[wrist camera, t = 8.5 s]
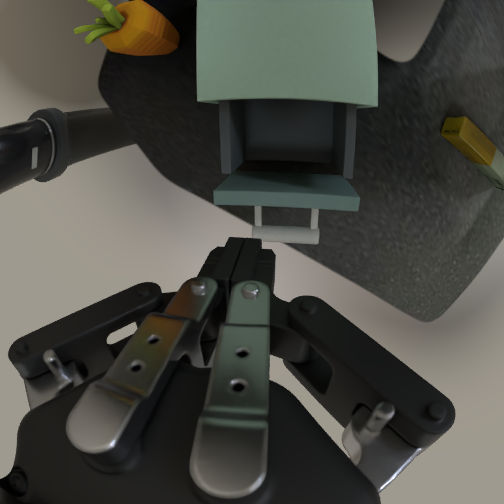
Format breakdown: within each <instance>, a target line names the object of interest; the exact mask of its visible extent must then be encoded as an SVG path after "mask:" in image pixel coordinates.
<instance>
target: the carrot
mask: <svg viewBox="0 0 504 504" xmlns="http://www.w3.org/2000/svg"><path fill="white" fill-rule="evenodd" d="M87 1H88V2H89V3H91V4H92V5H93V6H95V7H97V8H98V9H100V10H101V11H102V12H103V15H104V17H105V18H100V17H97V18H96V20H95V22H96V23H102V24H94V25H85V26H81V27H78V28H75V29H74V33H75V34H79V33H82V32H85V31H91V30H94V31H93V32H91V33H90V34H89V35H88V36H87V37H86V39H85V42H86V43H88V44H90V43H92V42H93V41H95V40H96V39H98V38H100V39H101V40H102V42H103V43H104V44H105V45H106V47H107V48H108V49H109V50H110V51H112V52H118V53H123V54H130V55H137V56H141V55H165V54H169V53H171V52H173V51H174V50H175V49H176V48H178V45H179V40H180V37H179V33H178V32H177V30H176V29H175V27H174V26H173V25H172V24H171V23H170V22H169V21H168V20H167V19H166V18H165V17H164V16H163V15H162V14H161V13H160V12H159V11H157V10H156V9H155V8H153V7H152V6H150V5H149V4H147V3H145V2H144V1H141V0H135V1H130V2H125V3H121V4H118V5H117V6H116V7H114V6H113V5H112V4H110V3H109V2H108V1H107V0H87Z"/></svg>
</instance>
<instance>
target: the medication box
mask: <svg viewBox="0 0 504 504" xmlns="http://www.w3.org/2000/svg"><path fill="white" fill-rule="evenodd" d="M441 136H443V137H444V138H445V139H446V140H447V141H449V142H450V143H451V144H452V145H453V146H454V147H456V148H457V149H458V150H459V151H460V152H461V153H462V154H463V155H464V156H465V157H467V158H468V159H469V160H470V161H471V162H472V163H473V164H474V165H475V166H476V167H477V168H478V169H479V170H480V171H481V172H482V173H483V174H484V175H485V176H486V177H487V178H488V179H489V180H490V181H491V183H492V184H493V185H494V186H495V187H496V188H499V189H502V190H504V156H503V154H502V153H501V152H500V151H499V150H498V149H497V148H496V146H495V145H494V144H493V143H492V142H491V141H490V140H489V139H488V138H487V137H486V136H485V135H484V133H483V132H482V131H481V130H480V129H479V128H478V127H477V126H476V125H474V123H472V122H471V121H470V120H469V119H468V118H467V117H446V120H445V122H444V125H443V128H442V131H441Z"/></svg>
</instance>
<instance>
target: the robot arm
mask: <svg viewBox="0 0 504 504" xmlns="http://www.w3.org/2000/svg"><path fill="white" fill-rule="evenodd" d="M56 152H57V141H56V135H55V131H54V129H53V127H52V125H51V123H50V122H49V121H48V120H47V119H45V118H35V119H33V120H29V121H25V122H20V123H16V124H12V125H8V126H4V127H1V128H0V194H2V193H3V192H5V191H7V190H9V189H12V188H13V187H16V186H18V185H20V184H22V183H24V182H26V181H29V180H31V179H33V178H36V177H38V176H42V175H44V174H46V173H48V172H49V171H50V170H51V168H52V166H53V164H54V162H55V158H56ZM275 258H276V255H275V254H274V252H273V251H272V249H262V240H261V239H260V238H238V237H229V239H228V241H227V242H226V245H225V247H217V248H215V249H214V250H212V251H211V252H210V253H209V256H208V257H207V259H206V261H205V264H203V266H202V268H201V270H200V272H199V274H198V276H197V277H195V278H191V279H189V280H187V281H186V282H185V283H183V285H182V286H181V287H180V289H179V290H178V291H177V292H169V293H162V292H161V288H160V286H159V285H158V284H156V283H152V282H144V283H140V284H137V285H135V286H132V287H130V288H128V289H126V290H123V291H121V292H119V293H117V294H114V295H112V296H110V297H108V298H106V299H103V300H101V301H99V302H97V303H94V304H92V305H90V306H88V307H86V308H83V309H81V310H79V311H77V312H75V313H72V314H70V315H68V316H66V317H64V318H61V319H59V320H57V321H55V322H53V323H51V324H49V325H46V326H44V327H42V328H40V329H38V330H36V331H34V332H31V333H29V334H27V335H25V336H23V337H21V338H19V339H17V340H16V341H15V342H14V343H13V344H12V345H11V347H10V349H9V352H8V357H9V359H10V361H11V362H12V364H13V365H14V366H15V368H16V369H17V370H18V372H19V373H20V375H21V377H22V378H23V379H24V383H25V388H26V392H27V397H28V402H29V406H30V411H29V412H28V413H27V414H26V415H25V417H24V418H23V419H22V421H21V423H20V426H19V429H18V433H17V449H16V456H15V461H14V465H13V468H12V470H11V472H10V473H9V474H8V475H7V476H6V477H4V478H2V479H0V504H381V501H380V496H379V493H380V492H381V491H382V490H383V489H384V488H385V487H386V486H388V485H389V484H390V483H391V482H392V481H393V480H394V479H395V478H396V477H397V476H398V475H399V474H400V473H401V472H402V471H403V470H404V469H405V468H406V467H407V466H408V465H409V464H410V463H411V461H412V460H413V459H414V458H415V457H416V456H418V455H419V454H421V453H422V452H423V451H424V450H426V449H427V448H428V447H429V446H430V445H432V444H433V443H434V442H435V441H436V440H438V439H439V438H440V437H441V436H442V435H443V434H444V433H445V432H447V431H448V430H449V429H450V428H451V426H452V425H453V423H454V420H455V409H454V406H453V404H452V402H451V401H450V400H449V399H448V398H447V397H446V396H445V395H444V394H442V393H441V392H440V391H438V390H437V389H436V388H435V387H433V386H432V385H431V384H429V383H428V382H427V381H426V380H424V379H423V378H422V377H420V376H419V375H418V374H417V373H416V372H414V371H413V370H412V369H410V368H409V367H408V366H407V365H405V364H404V363H403V362H402V361H400V360H399V359H397V358H396V357H395V356H394V355H393V354H391V353H390V352H389V351H387V350H386V349H385V348H383V347H382V346H381V345H380V344H378V343H377V342H376V341H375V340H373V339H372V338H371V337H369V336H368V335H367V334H366V333H364V332H363V331H362V330H360V329H359V328H358V327H357V326H355V325H354V324H353V323H351V322H350V321H349V320H348V319H346V318H345V317H344V316H342V315H341V314H340V313H338V312H337V311H336V310H335V309H333V308H332V307H331V306H330V305H328V304H327V303H326V302H324V301H323V300H321V299H319V298H317V297H314V296H299V297H296V298H294V299H293V300H292V301H291V302H286V301H283V300H281V299H279V298H278V297H276V296H275V295H274V294H273V291H274V282H275ZM133 322H136V325H137V328H138V329H137V330H136V331H135V333H134V334H132V335H130V336H128V337H126V338H124V339H122V340H120V341H118V342H116V343H114V344H107V337H108V336H109V334H110V333H112V332H114V331H116V330H118V329H121V328H123V327H125V326H127V325H129V324H131V323H133ZM270 355H273V356H276V357H279V358H282V359H283V363H284V365H285V366H286V368H287V369H288V370H289V371H290V372H291V373H292V374H293V375H294V376H295V377H296V378H297V380H298V381H300V383H301V384H302V385H303V386H304V387H305V388H306V389H307V390H308V391H309V392H310V393H311V395H312V396H313V397H314V398H315V399H316V400H317V401H318V402H319V403H320V404H321V405H322V406H323V407H324V408H325V409H326V410H327V411H328V412H329V413H330V414H331V415H332V416H333V417H334V418H335V419H336V420H337V421H338V422H339V423H340V424H341V425H342V426H343V427H344V428H345V430H344V432H343V434H342V444H343V446H344V448H345V450H346V451H347V452H348V454H349V456H350V458H348V457H347V455H346V454H345V453H344V452H343V451H342V450H341V449H340V448H339V446H338V445H337V444H336V443H335V442H334V441H333V440H332V439H331V437H330V436H329V435H328V434H327V433H326V432H325V431H324V429H323V428H322V427H321V426H320V425H319V424H318V423H317V421H316V420H315V419H314V418H313V417H312V416H311V414H310V413H309V412H308V411H307V410H306V408H305V407H304V406H303V405H302V404H301V402H300V401H299V400H298V399H297V398H296V397H295V396H294V395H293V394H292V393H291V392H290V391H289V390H287V389H286V388H284V387H283V386H281V385H279V384H278V383H275V382H273V381H271V380H269V367H270Z"/></svg>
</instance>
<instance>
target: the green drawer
mask: <svg viewBox="0 0 504 504" xmlns="http://www.w3.org/2000/svg"><path fill="white" fill-rule="evenodd" d="M356 110H357V104H349V103H340V102H330V101H317V100H301V99H234V100H219V125H220V153H221V173H222V174H230V175H229V176H228V177H227V178H226V179H225V180H224V181H223V182H222V183H221V184H220V185H219V186H218V187H217V188H216V189H215V190H214V191H213V197H214V205H248V206H255V225H253V228H252V238H260V239H261V240H262V241H266V242H267V241H268V242H285V243H303V244H318V242H319V228H317V225H318V213H319V209H330V210H344V211H358V210H359V203H360V197H359V196H358V194H357V193H356V192H355V190H354V189H353V188H352V186H351V185H350V184H349V183H348V181H347V180H346V179H352V178H353V169H354V155H355V138H356ZM245 160H269V161H297V162H315V163H329V164H332V165H333V166H334V167H335V168H336V170H337V171H338V172H339V174H340V175H329V174H315V173H297V172H272V171H235V170H236V169H237V168H238V167H239V166H240V165H241V164H242V163H243V162H244V161H245ZM262 206H276V207H297V208H312V209H311V223H310V227H294V226H274V225H262Z"/></svg>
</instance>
